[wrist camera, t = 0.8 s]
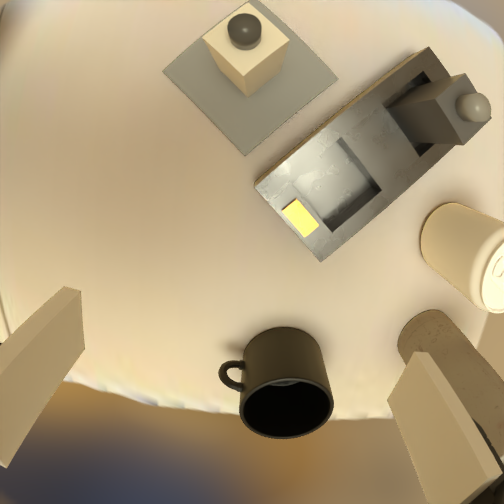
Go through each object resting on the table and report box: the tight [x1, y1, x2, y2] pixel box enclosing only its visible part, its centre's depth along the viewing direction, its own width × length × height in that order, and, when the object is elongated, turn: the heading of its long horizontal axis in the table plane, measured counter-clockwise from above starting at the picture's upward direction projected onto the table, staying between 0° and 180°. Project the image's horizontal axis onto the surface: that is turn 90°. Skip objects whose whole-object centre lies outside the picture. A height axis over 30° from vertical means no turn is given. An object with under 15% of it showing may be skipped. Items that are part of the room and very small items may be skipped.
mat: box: [162, 0, 338, 156], centre depth 27 cm, size 12×12×1 cm
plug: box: [202, 3, 290, 98], centre depth 21 cm, size 4×4×12 cm
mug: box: [218, 328, 334, 439], centre depth 33 cm, size 9×12×9 cm
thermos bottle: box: [398, 310, 504, 464], centre depth 23 cm, size 8×8×28 cm
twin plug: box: [385, 73, 491, 145], centre depth 21 cm, size 4×4×12 cm
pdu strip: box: [254, 47, 455, 262], centre depth 27 cm, size 22×9×5 cm, turn 132°
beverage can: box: [421, 203, 504, 313], centre depth 26 cm, size 8×8×12 cm
